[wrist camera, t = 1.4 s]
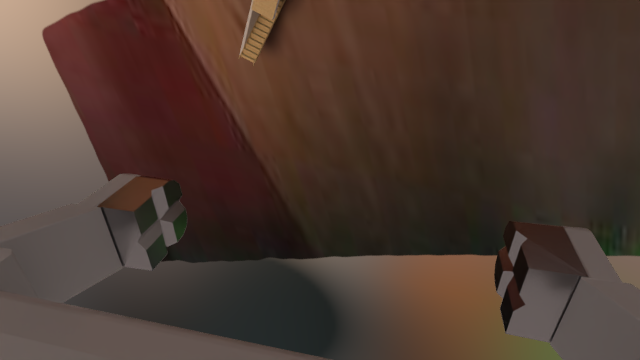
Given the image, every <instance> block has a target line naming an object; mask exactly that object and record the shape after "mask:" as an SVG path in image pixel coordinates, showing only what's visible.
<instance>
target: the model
mask: <svg viewBox="0 0 640 360" xmlns="http://www.w3.org/2000/svg"><path fill="white" fill-rule="evenodd" d="M284 2H285V0H252V3H251V7H250V12H249V16H248V20H247V24H246V29H245V33H244V37H243V42H242V46H241V50H240V54H239V55H240V56H239V59H240V57H243V58H245V59H247V60H249V61H251V62H253V66H254V64H255V62H256V60H257V58H258V56H259V54H260V52H261V50H262V48H263V46H264V44H265V42H266V40H267V38H268V36H269V34H270V31H271V29H272V27H273V25H274V23H275V21H276V19H277V17H278V15H279V13H280V11H281V9H282V7H283V4H284Z"/></svg>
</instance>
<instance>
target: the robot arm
mask: <svg viewBox="0 0 640 360" xmlns="http://www.w3.org/2000/svg"><path fill="white" fill-rule="evenodd" d="M181 196H182V192H181V188H180V185H179V183H177V182H176V181H175V180H170V179H163V178H156V177H149V176H140V175H134V174H120V175H118V176H117V177H115V178H114V179H112V180H111V181H110V182H108V183H107V184H105V185H104V186H103V187H101V188H100V189H98V190H97V191H96V192H94V193H93V194H91V195H90V196H88V197H87V198H86V199H84V200H83V201H81V202H80V203H79V204H70V205H66V206H63V207H60V208H57V209H54V210H51V211H47V212H44V213H41V214H38V215H35V216H32V217H29V218H25V219H22V220H19V221H16V222H13V223H10V224H6V225H4V226H0V360H331V359H326V358H322V357H317V356H312V355H307V354H303V353H298V352H293V351H288V350H283V349H279V348H274V347H269V346H264V345H260V344H255V343H250V342H245V341H240V340H236V339H231V338H226V337H221V336H216V335H212V334H206V333H202V332H197V331H193V330H188V329H183V328H178V327H173V326H169V325H164V324H159V323H154V322H150V321H145V320H140V319H135V318H130V317H126V316H121V315H116V314H111V313H107V312H102V311H97V310H92V309H87V308H83V307H78V306H73V305H68V304H64V303H63V302H65V301H67V300H68V299H70V298H72V297H73V296H75V295H77V294H78V293H80V292H82V291H84V290H85V289H87V288H89V287H91V286H92V285H94V284H96V283H98V282H99V281H101V280H103V279H105V278H106V277H108V276H110V275H112V274H113V273H115V272H117V271H118V270H120V269H122V268H123V267H130V268H137V269H144V270H151V271H153V270H154V268H155V267H156V266H157V265H158V264H159V263H160V262H161V260H162V259H163V258H164V257H165V256H166V255H167V254H168V250H167V247H168V246H170V245H172V244H174V243H177V242H178V241H179V239H180V238H181V237H182V236H183V234H184V232H185V229H186V226H187V213H186V209H185V207H184V206H183V205H182V204H181V203H180V202H179V199H180V198H181ZM503 237H504V241H505V245H506V247H504V248H503V249H501V250H500V251H499V252H498V256H497V260H496V264H495V274H494V275H495V286H496V291H497V293H498V294H499V295H500V296H501V297H502V298H503V301H502V304H501V307H500V310H501V315H502V319H503V324H504V328H505V333H506V334H510V335H515V336H521V337H526V338H530V339H535V340H540V341H545V342H550V345H551V346H552V347H553V349H554V350H555V351H556V352H557V353H558V354H559V355H560V357H561V358H562V359H563V360H640V290H639V289H638V288H637V287H635V286H634V285H632V284H629V283H622V281H621V280H620V278H619V276H618V275H617V273H616V272H615V270H614V268H613V267H612V265H611V263H610V262H609V260H608V258H607V257H606V255H605V254H604V252H603V250H602V249H601V247H600V245H599V244H598V242H597V240H596V239H595V237H594V236H593V234H592V232H591V231H590V230H588V229H586V228H577V227H566V226H552V225H542V224H532V223H523V222H513V221H509V222H508V224H507V226H506V228H505V232H504V235H503ZM122 266H123V267H122Z"/></svg>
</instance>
